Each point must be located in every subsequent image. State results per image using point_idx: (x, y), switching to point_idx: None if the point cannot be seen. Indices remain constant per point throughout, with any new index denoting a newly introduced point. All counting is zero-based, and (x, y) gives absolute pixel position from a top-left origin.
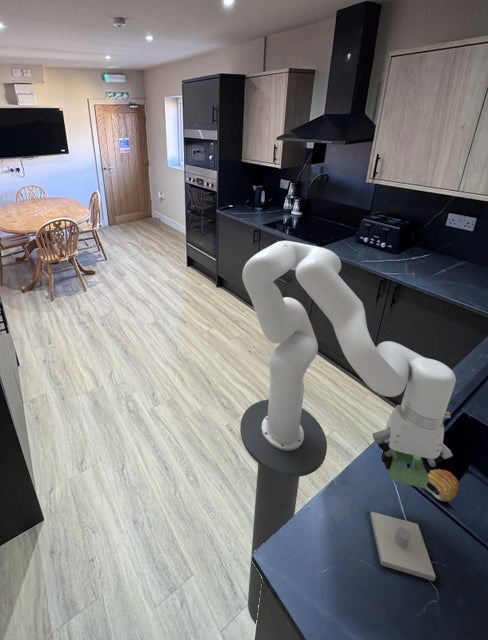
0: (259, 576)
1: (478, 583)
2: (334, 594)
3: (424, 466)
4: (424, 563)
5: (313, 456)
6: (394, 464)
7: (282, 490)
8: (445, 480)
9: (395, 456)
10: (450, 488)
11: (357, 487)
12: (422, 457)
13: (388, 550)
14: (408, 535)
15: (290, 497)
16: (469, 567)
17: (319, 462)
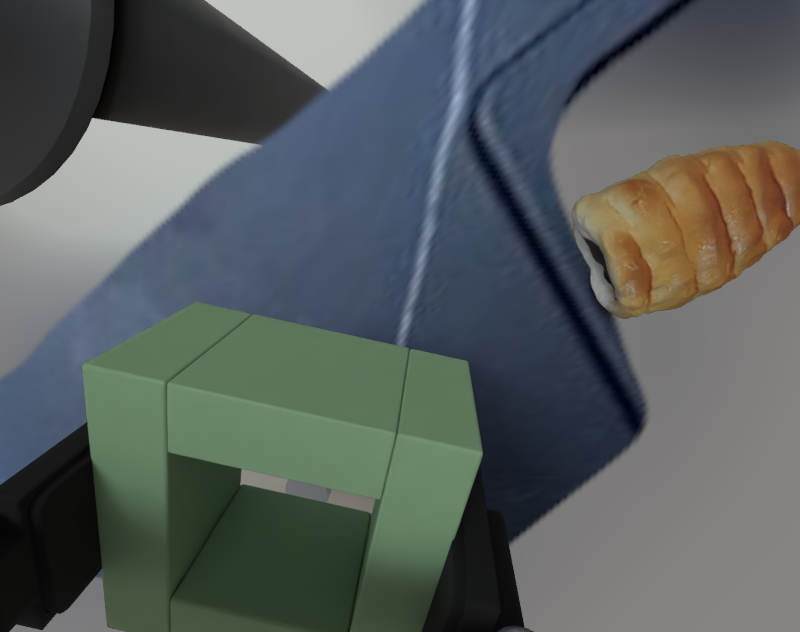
0: None
1: (524, 524)
2: None
3: (426, 623)
4: (370, 508)
5: (14, 103)
6: (118, 592)
7: (122, 121)
8: (711, 254)
9: (157, 520)
10: (701, 287)
11: (242, 244)
12: (445, 613)
13: (267, 477)
14: (322, 500)
15: (180, 119)
16: (530, 493)
17: (46, 141)
